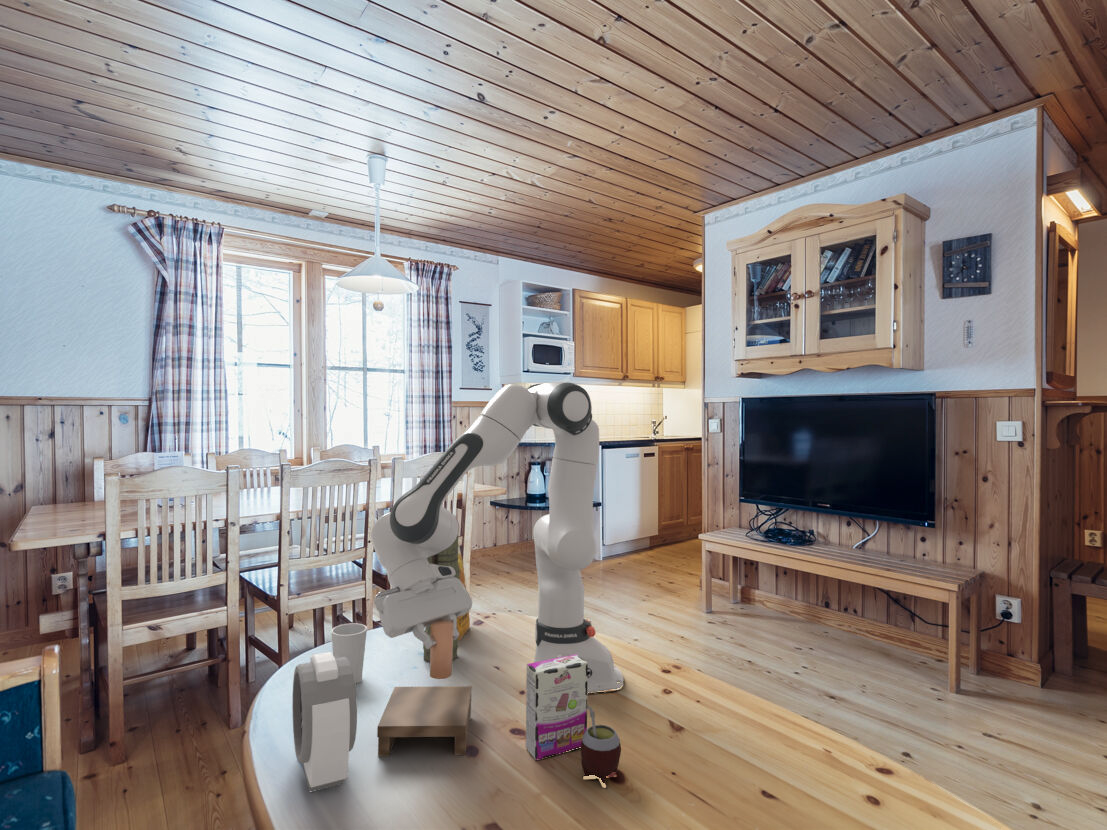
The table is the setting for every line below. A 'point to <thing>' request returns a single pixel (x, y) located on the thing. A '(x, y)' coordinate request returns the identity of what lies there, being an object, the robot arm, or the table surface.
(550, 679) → the candy bar box
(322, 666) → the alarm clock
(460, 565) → the pancake mix bag
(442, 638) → the peach cylinder
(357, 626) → the cup
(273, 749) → the table surface
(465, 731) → the walnut shelf
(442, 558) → the thermos
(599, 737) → the mate gourd
